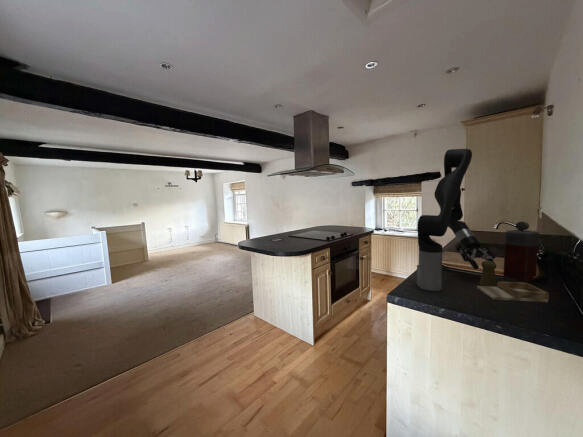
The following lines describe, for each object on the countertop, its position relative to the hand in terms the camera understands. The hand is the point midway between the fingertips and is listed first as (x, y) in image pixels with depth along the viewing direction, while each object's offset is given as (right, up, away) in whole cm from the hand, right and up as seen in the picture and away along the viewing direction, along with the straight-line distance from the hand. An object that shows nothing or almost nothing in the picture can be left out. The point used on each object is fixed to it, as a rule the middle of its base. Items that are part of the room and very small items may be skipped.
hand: (485, 268), depth 110 cm
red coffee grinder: (+23, -6, +7) cm, 25 cm away
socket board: (0, -9, -12) cm, 15 cm away
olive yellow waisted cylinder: (0, -8, -1) cm, 8 cm away
